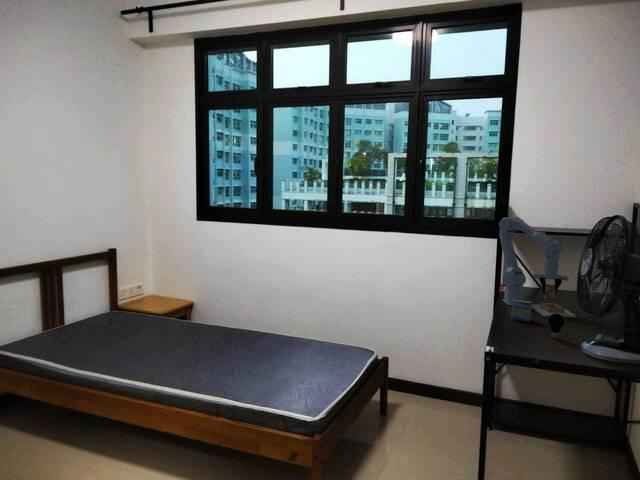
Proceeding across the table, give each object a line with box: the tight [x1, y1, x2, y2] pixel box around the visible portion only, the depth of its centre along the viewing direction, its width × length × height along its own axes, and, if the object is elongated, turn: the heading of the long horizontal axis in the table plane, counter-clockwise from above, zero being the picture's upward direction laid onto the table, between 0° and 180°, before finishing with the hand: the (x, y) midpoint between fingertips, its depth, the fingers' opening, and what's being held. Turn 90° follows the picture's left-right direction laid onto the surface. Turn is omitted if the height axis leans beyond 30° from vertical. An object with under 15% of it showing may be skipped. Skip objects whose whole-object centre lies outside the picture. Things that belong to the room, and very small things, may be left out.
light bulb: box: [547, 314, 566, 339], centre depth 186 cm, size 6×6×10 cm
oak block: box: [543, 283, 556, 301], centre depth 222 cm, size 4×6×6 cm, turn 160°
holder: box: [531, 302, 577, 318], centre depth 225 cm, size 18×14×3 cm
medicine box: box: [510, 299, 533, 323], centre depth 211 cm, size 8×4×9 cm, turn 62°
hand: (549, 294), depth 223 cm, fingers closed on oak block, 4 cm apart
